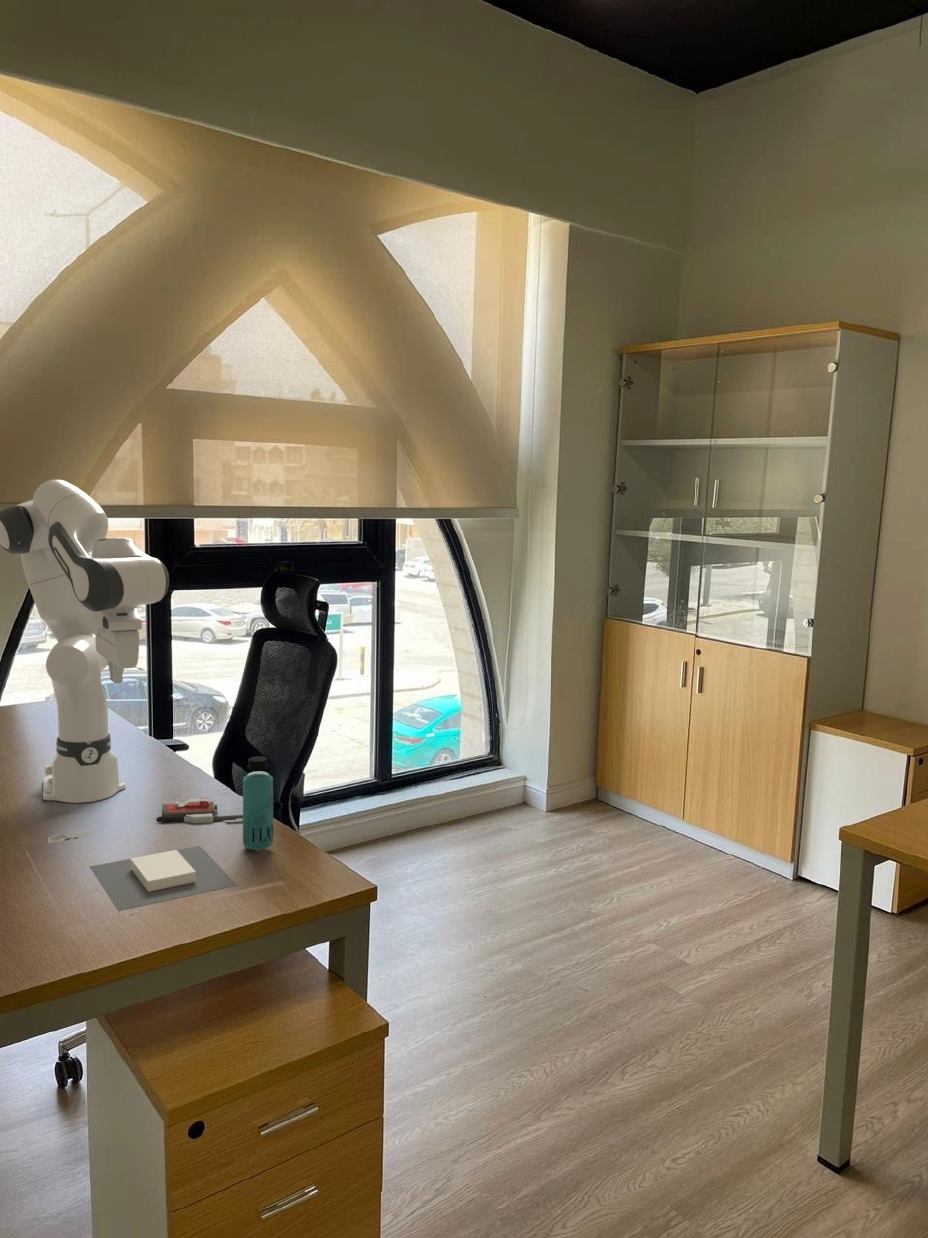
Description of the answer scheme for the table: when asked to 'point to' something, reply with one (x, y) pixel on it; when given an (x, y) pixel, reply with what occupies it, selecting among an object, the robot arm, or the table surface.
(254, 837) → the beverage bottle
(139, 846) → the table surface
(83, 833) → the handheld gaming device
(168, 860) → the block
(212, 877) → the mat
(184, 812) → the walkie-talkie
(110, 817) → the table surface
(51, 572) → the robot arm
